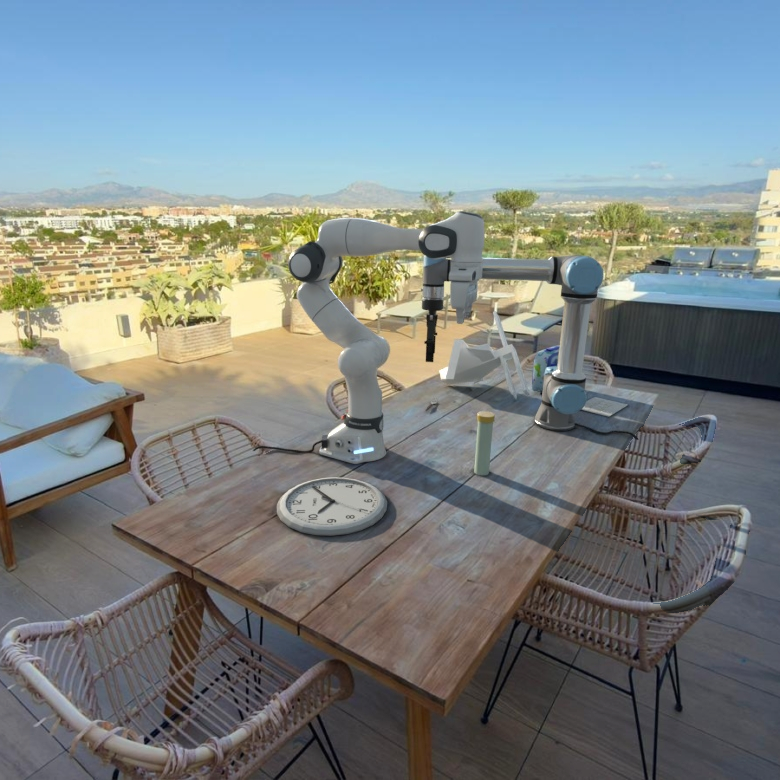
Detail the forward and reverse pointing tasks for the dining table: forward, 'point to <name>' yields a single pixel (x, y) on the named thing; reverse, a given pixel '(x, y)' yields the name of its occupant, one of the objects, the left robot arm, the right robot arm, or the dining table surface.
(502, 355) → the white plastic object
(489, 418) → the lid
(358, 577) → the dining table surface
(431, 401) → the fork
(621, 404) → the invitation card
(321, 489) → the wall clock
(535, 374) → the lunch box
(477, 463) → the green cylinder
